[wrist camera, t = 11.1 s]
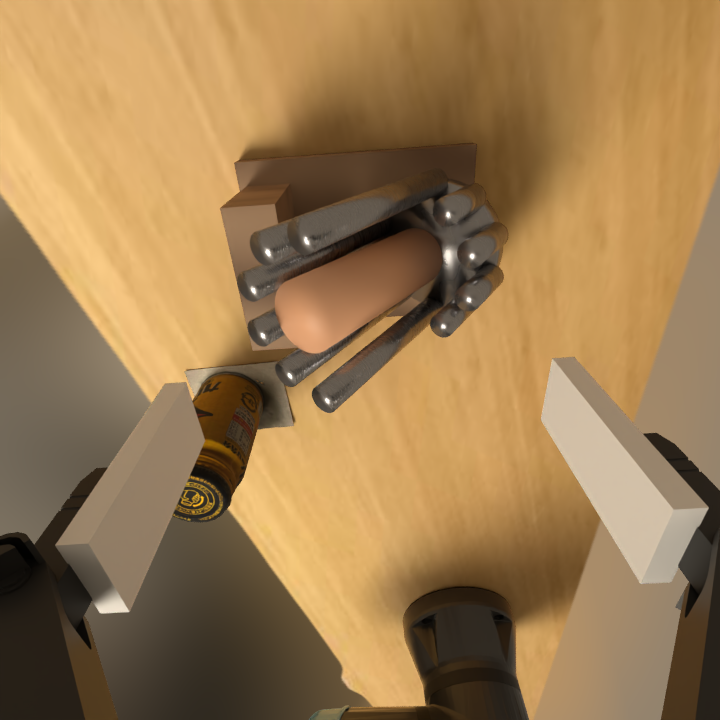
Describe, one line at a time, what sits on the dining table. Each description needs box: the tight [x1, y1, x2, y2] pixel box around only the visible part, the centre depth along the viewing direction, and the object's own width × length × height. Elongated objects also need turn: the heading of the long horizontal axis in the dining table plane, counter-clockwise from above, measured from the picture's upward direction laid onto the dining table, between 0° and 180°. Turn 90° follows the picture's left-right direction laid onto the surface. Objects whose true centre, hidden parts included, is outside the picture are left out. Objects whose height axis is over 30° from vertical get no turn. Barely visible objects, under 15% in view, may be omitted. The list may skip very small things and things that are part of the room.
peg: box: [275, 228, 442, 353], centre depth 26 cm, size 4×4×12 cm
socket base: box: [220, 143, 477, 351], centre depth 29 cm, size 12×16×8 cm
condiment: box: [172, 361, 294, 522], centre depth 35 cm, size 7×8×12 cm
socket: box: [237, 168, 508, 413], centre depth 26 cm, size 10×16×15 cm, turn 94°
